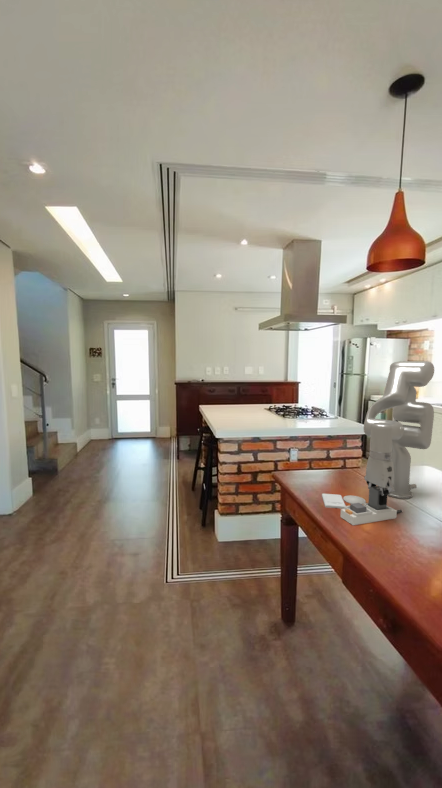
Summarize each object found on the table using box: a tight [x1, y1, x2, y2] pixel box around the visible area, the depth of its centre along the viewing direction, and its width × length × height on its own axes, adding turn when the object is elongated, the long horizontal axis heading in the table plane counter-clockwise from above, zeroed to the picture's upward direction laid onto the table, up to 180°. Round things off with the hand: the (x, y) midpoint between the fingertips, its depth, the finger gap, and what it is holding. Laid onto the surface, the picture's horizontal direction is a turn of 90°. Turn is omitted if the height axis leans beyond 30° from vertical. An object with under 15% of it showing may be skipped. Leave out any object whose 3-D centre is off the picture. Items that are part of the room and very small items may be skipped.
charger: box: [367, 485, 388, 510], centre depth 129 cm, size 4×4×8 cm
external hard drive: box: [321, 493, 346, 510], centre depth 143 cm, size 2×8×12 cm
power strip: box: [339, 502, 403, 526], centre depth 129 cm, size 26×7×5 cm, turn 108°
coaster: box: [342, 494, 367, 505], centre depth 145 cm, size 9×9×1 cm
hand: (377, 501), depth 129 cm, fingers closed on charger, 4 cm apart
